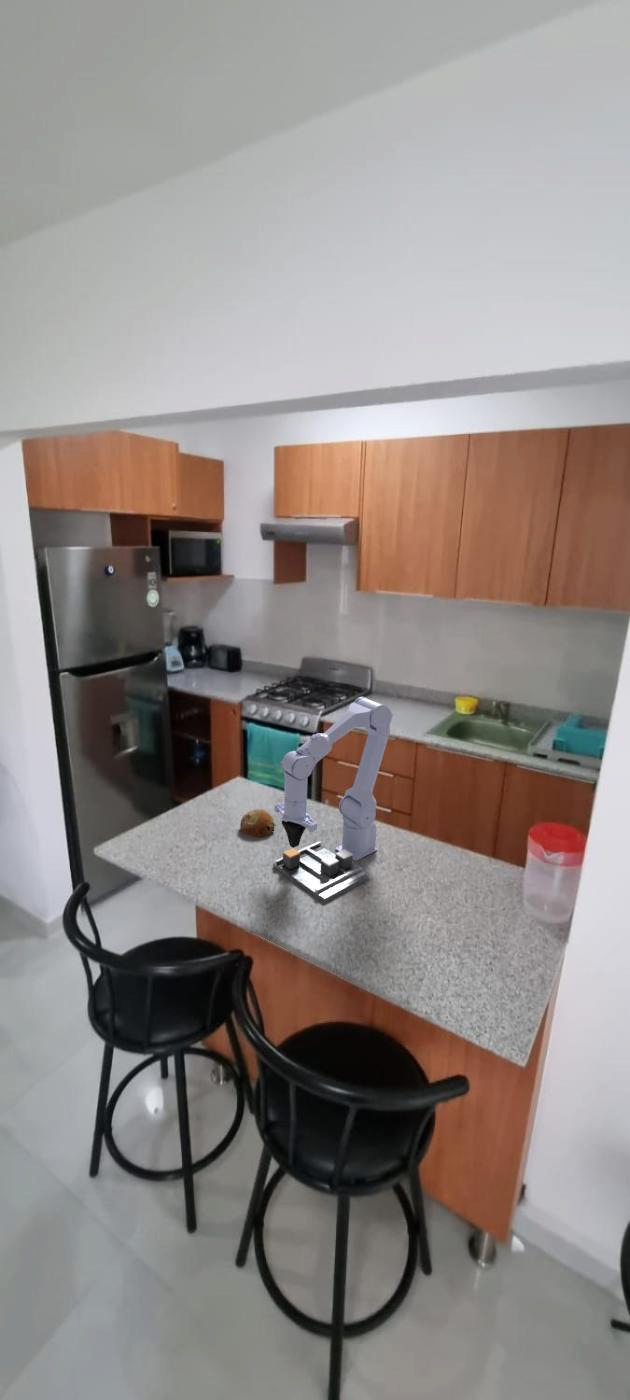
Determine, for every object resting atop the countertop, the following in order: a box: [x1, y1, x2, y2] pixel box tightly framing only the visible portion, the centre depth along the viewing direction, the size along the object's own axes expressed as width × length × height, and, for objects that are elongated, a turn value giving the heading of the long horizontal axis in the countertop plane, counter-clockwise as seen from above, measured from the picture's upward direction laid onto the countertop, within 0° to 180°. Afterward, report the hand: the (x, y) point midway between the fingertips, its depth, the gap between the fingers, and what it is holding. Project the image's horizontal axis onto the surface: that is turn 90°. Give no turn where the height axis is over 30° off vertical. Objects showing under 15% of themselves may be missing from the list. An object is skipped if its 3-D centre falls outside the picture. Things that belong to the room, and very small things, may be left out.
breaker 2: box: [335, 849, 353, 870], centre depth 148 cm, size 3×3×4 cm
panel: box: [272, 841, 370, 904], centre depth 147 cm, size 16×20×2 cm
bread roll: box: [240, 808, 277, 838], centre depth 168 cm, size 10×10×8 cm
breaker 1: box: [321, 856, 339, 877], centre depth 145 cm, size 3×3×4 cm
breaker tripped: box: [282, 847, 300, 869], centre depth 147 cm, size 3×3×4 cm
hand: (294, 845), depth 146 cm, fingers closed
